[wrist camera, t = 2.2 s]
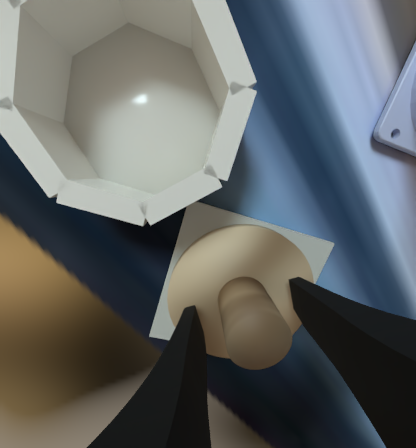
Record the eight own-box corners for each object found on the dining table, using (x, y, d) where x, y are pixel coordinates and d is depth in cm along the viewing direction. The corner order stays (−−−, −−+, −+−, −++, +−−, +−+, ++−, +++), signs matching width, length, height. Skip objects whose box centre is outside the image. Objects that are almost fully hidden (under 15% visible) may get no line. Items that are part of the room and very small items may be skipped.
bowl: (254, 60, 10) (286, 2, 7) (203, 224, 12) (206, 243, 8) (69, -19, 9) (-10, -143, 5) (46, 179, 11) (-24, 181, 7)
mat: (330, 241, 13) (334, 243, 12) (275, 356, 15) (277, 361, 14) (189, 198, 11) (188, 199, 11) (150, 331, 13) (149, 336, 13)
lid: (329, 245, 12) (392, 278, 8) (276, 357, 14) (307, 427, 10) (191, 205, 11) (189, 222, 7) (154, 334, 13) (137, 402, 9)
